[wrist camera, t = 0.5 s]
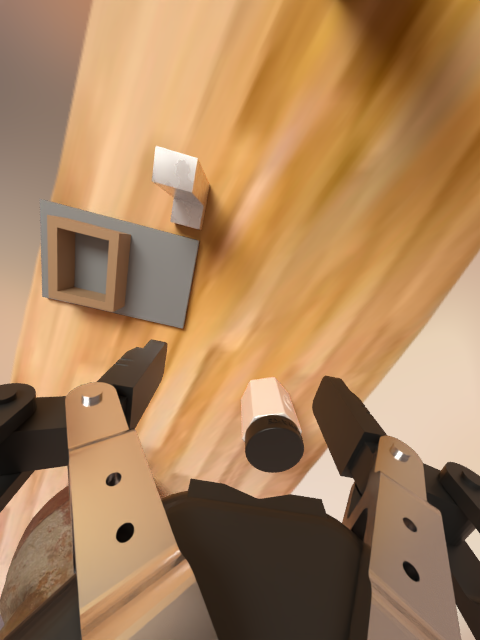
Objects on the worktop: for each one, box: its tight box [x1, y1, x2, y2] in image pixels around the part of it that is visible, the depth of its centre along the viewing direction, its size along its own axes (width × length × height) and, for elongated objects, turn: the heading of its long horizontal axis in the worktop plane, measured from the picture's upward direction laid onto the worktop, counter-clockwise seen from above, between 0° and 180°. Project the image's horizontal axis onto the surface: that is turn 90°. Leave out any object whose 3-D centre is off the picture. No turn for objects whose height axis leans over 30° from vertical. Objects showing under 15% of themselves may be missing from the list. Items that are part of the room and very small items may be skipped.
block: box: [152, 146, 210, 230], centre depth 27 cm, size 6×4×10 cm, turn 166°
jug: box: [0, 485, 73, 640], centre depth 34 cm, size 22×22×30 cm
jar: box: [241, 377, 304, 473], centre depth 36 cm, size 9×8×12 cm
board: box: [40, 199, 200, 329], centre depth 32 cm, size 14×22×4 cm, turn 76°
